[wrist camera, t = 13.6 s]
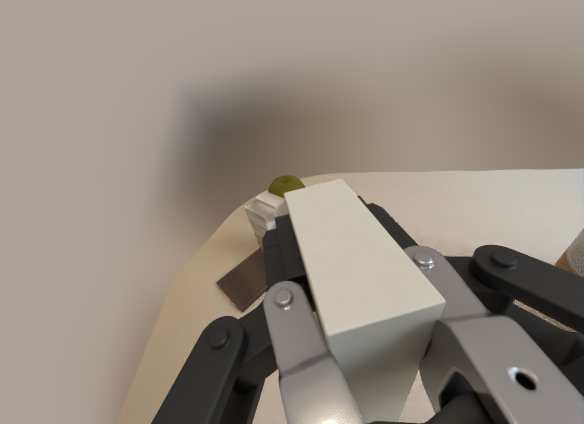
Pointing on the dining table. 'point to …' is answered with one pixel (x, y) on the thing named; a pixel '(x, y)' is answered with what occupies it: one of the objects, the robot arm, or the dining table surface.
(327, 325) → the white book
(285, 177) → the apple
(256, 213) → the white book stand
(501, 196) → the dining table surface
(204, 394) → the robot arm
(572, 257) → the planter
